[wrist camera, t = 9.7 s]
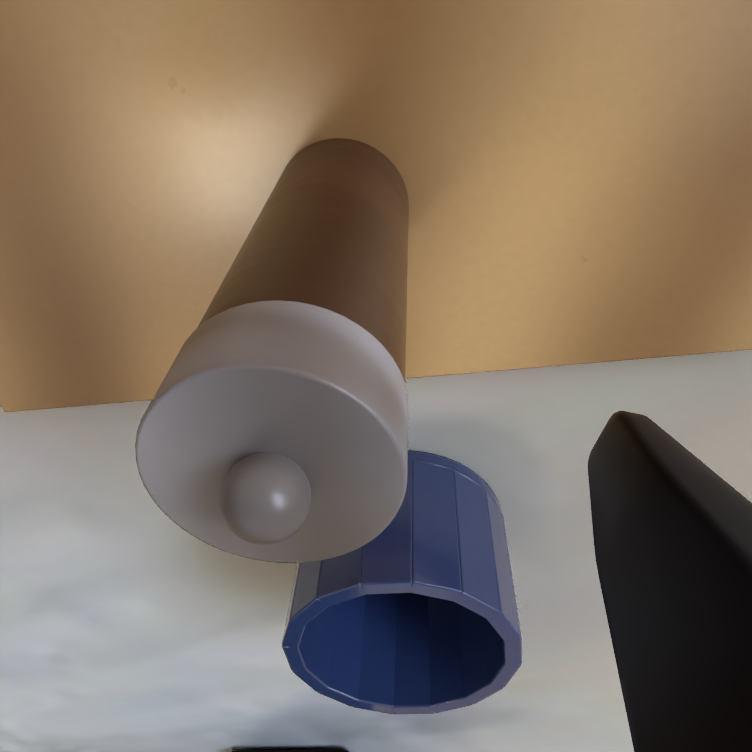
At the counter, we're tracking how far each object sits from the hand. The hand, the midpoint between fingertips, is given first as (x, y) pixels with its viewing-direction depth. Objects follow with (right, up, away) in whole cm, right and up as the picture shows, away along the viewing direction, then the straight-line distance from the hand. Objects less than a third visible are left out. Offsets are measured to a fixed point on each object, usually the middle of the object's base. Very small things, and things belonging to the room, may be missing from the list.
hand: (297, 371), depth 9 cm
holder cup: (+2, -5, +13) cm, 14 cm away
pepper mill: (0, +4, +5) cm, 7 cm away
